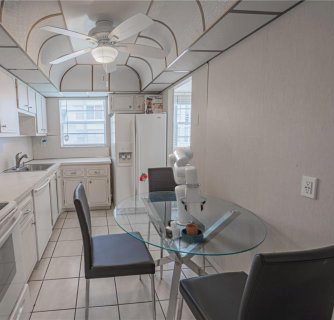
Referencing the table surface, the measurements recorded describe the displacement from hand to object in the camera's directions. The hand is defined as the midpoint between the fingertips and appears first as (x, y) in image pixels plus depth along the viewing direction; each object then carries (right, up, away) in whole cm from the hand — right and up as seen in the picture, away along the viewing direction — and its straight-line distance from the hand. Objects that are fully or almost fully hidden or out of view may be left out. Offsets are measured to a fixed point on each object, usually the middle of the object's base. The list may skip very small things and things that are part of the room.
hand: (193, 210), depth 144 cm
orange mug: (0, -19, +4) cm, 20 cm away
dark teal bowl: (0, -20, +2) cm, 20 cm away
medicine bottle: (-12, -21, +8) cm, 25 cm away
